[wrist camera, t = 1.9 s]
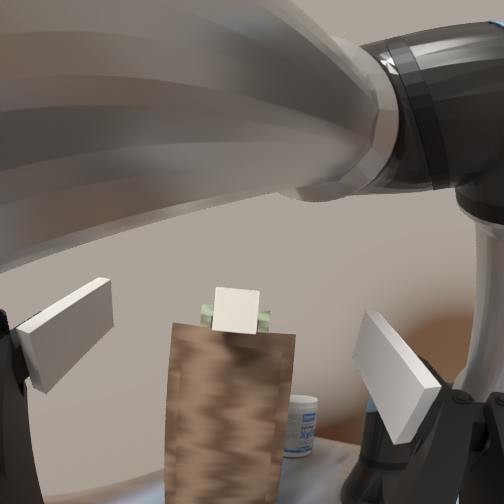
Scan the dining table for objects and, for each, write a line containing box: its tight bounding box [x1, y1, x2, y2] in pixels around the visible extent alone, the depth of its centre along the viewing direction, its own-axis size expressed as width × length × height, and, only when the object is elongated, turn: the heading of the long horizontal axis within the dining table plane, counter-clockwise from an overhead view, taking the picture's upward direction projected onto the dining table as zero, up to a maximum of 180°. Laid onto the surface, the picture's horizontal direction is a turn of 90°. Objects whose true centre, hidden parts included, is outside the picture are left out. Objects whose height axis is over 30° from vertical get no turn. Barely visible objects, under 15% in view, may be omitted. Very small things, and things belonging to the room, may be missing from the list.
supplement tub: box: [283, 395, 318, 457], centre depth 59 cm, size 10×10×15 cm
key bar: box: [212, 287, 260, 334], centre depth 34 cm, size 4×18×4 cm, turn 3°
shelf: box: [164, 305, 296, 504], centre depth 37 cm, size 15×14×33 cm
